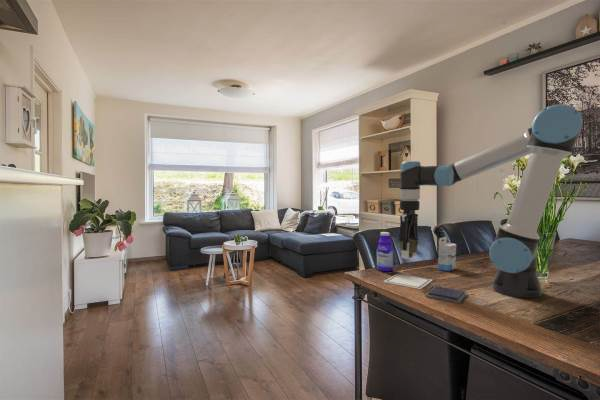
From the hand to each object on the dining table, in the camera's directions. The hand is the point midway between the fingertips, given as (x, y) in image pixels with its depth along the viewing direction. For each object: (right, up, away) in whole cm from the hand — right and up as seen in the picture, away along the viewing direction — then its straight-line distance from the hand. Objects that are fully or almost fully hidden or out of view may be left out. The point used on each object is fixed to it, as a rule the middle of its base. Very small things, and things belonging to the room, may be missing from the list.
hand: (408, 256), depth 135 cm
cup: (0, 0, 0) cm, 1 cm away
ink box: (+25, -10, +20) cm, 33 cm away
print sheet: (0, -10, 0) cm, 10 cm away
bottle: (-5, -10, +18) cm, 21 cm away
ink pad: (+8, -11, -17) cm, 22 cm away
